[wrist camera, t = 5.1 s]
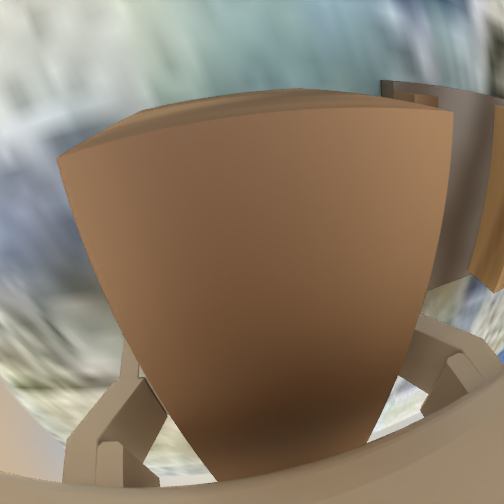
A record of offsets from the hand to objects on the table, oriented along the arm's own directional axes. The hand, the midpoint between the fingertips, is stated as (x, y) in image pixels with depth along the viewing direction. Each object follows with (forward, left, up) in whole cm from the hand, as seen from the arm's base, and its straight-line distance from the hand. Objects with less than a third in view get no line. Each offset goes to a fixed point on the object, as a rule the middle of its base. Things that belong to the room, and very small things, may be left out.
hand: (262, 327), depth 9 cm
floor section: (-15, 0, -7) cm, 16 cm away
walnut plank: (0, 0, -3) cm, 3 cm away
